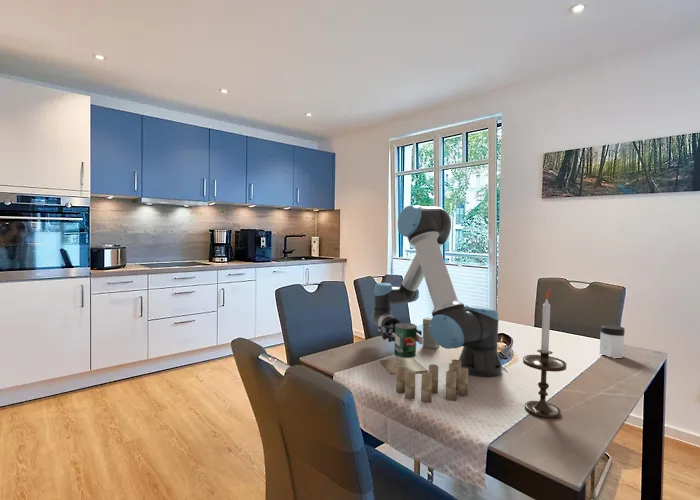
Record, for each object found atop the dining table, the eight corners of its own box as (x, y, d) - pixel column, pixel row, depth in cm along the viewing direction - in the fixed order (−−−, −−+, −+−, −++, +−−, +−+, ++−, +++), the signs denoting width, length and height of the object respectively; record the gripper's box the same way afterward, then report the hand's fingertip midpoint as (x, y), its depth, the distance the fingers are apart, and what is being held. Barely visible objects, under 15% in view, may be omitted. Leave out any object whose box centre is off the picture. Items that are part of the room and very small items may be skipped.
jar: (593, 353, 162) (595, 325, 161) (606, 351, 165) (608, 323, 164) (615, 360, 153) (617, 330, 153) (628, 357, 157) (630, 328, 156)
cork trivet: (412, 359, 151) (413, 357, 151) (428, 371, 138) (428, 370, 138) (378, 361, 148) (378, 359, 148) (390, 374, 135) (391, 373, 135)
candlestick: (571, 413, 108) (577, 289, 106) (551, 424, 101) (557, 292, 100) (534, 399, 116) (538, 284, 115) (513, 408, 110) (518, 287, 108)
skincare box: (439, 346, 169) (440, 318, 168) (436, 348, 165) (436, 320, 164) (425, 343, 172) (426, 316, 171) (422, 346, 168) (422, 318, 168)
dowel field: (460, 383, 128) (461, 359, 127) (473, 404, 112) (474, 377, 112) (393, 381, 129) (394, 358, 128) (398, 402, 113) (398, 375, 113)
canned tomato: (397, 350, 147) (398, 321, 146) (417, 353, 144) (418, 324, 143) (391, 356, 140) (392, 326, 139) (413, 359, 137) (414, 329, 136)
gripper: (412, 332, 161) (437, 350, 139) (365, 334, 157) (382, 353, 134) (413, 315, 161) (437, 329, 139) (365, 316, 156) (383, 332, 134)
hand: (410, 341), depth 137 cm, fingers closed on canned tomato, 8 cm apart
